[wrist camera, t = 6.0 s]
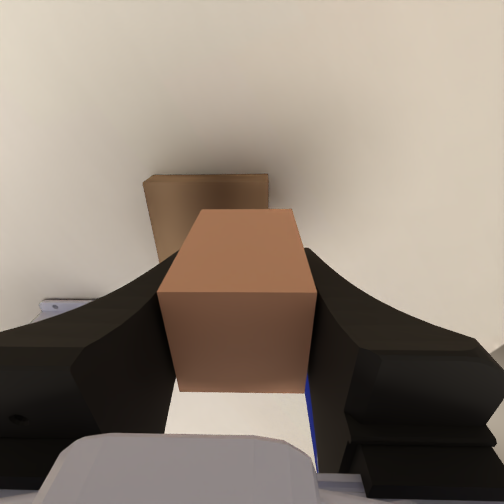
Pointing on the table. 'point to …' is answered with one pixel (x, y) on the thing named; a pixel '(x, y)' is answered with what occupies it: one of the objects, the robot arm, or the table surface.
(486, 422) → the robot arm
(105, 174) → the table surface
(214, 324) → the block
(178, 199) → the plinth
